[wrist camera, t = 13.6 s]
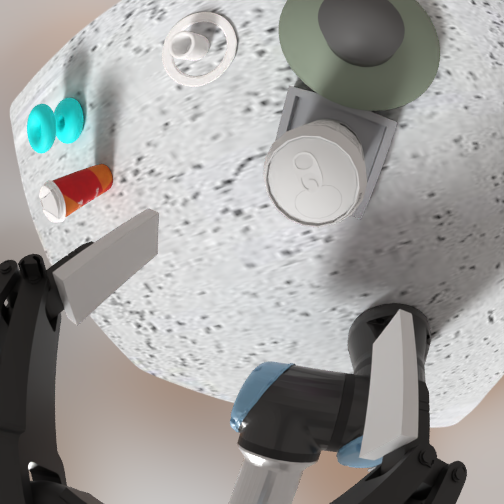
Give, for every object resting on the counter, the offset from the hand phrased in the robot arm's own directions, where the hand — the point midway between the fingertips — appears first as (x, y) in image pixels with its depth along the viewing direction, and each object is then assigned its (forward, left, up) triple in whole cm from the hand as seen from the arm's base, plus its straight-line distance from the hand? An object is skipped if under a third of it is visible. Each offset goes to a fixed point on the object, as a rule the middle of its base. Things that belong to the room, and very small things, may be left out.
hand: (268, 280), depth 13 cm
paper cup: (+39, +13, -25) cm, 48 cm away
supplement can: (0, -2, -24) cm, 24 cm away
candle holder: (+21, -12, -26) cm, 35 cm away
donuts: (+50, +2, -25) cm, 56 cm away
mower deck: (0, -11, -25) cm, 27 cm away
